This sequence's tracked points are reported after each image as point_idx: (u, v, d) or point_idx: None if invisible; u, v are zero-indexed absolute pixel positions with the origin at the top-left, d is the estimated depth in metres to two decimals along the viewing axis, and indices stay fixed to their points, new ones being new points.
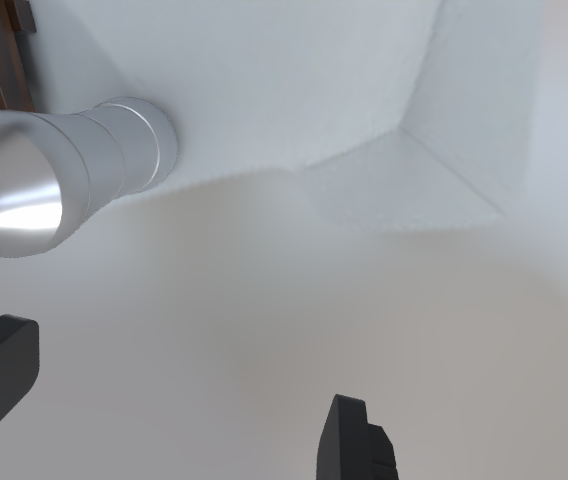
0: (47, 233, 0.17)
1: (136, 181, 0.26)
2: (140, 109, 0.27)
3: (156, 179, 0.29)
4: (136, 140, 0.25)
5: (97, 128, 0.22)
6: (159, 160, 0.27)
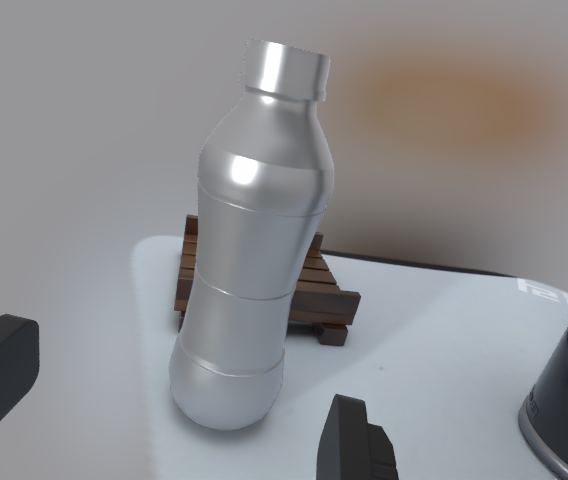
0: (236, 147, 0.17)
1: (209, 326, 0.20)
2: (277, 374, 0.23)
3: (191, 372, 0.21)
4: (259, 336, 0.21)
5: (291, 280, 0.20)
6: (220, 374, 0.21)
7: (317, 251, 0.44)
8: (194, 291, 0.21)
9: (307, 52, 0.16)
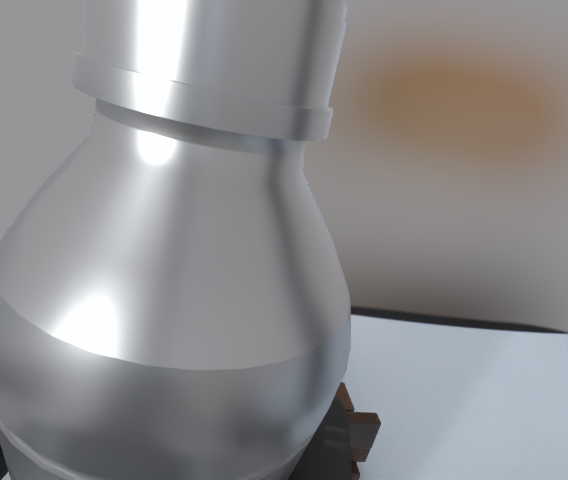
0: (34, 292, 0.05)
1: None
2: None
3: None
4: None
5: None
6: None
7: None
8: None
9: None
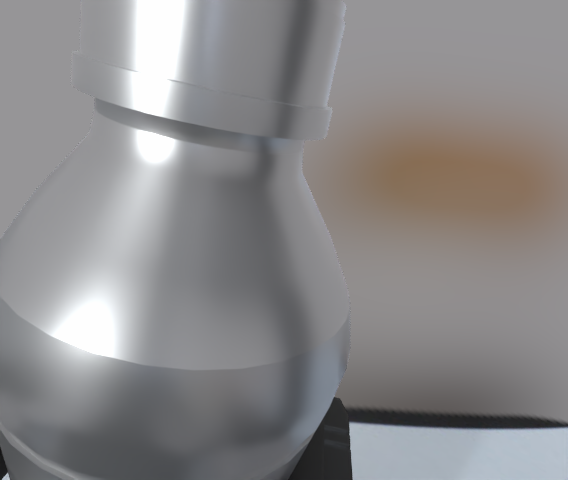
0: (33, 293, 0.05)
1: None
2: None
3: None
4: None
5: None
6: None
7: None
8: None
9: None
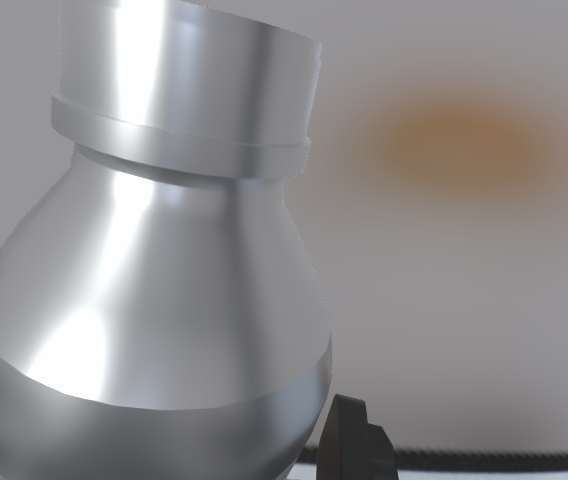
0: (10, 331, 0.05)
1: None
2: None
3: None
4: None
5: None
6: None
7: None
8: None
9: (232, 22, 0.05)
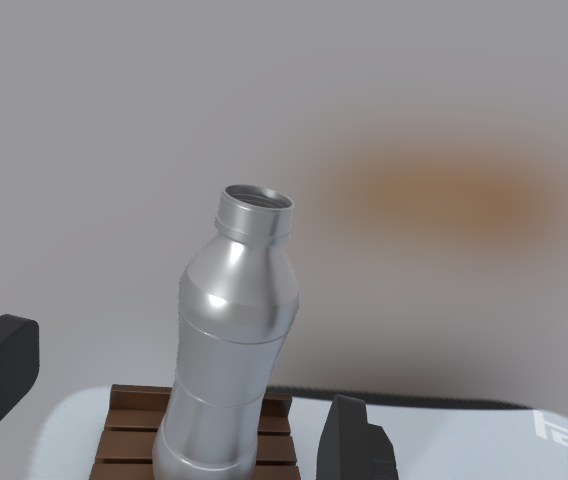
0: (209, 286, 0.20)
1: (186, 426, 0.23)
2: (249, 463, 0.25)
3: (170, 464, 0.24)
4: (231, 436, 0.23)
5: (260, 387, 0.23)
6: (196, 468, 0.23)
7: (284, 418, 0.34)
8: (174, 391, 0.24)
9: (271, 210, 0.19)
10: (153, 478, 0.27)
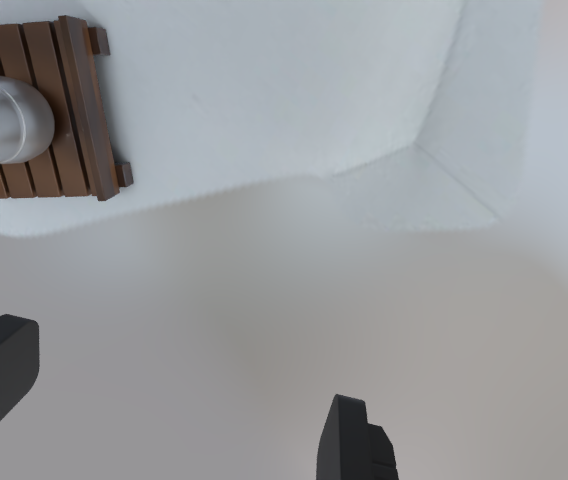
0: None
1: None
2: (8, 86, 0.30)
3: (27, 150, 0.32)
4: None
5: None
6: (25, 132, 0.31)
7: None
8: None
9: None
10: None
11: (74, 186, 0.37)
